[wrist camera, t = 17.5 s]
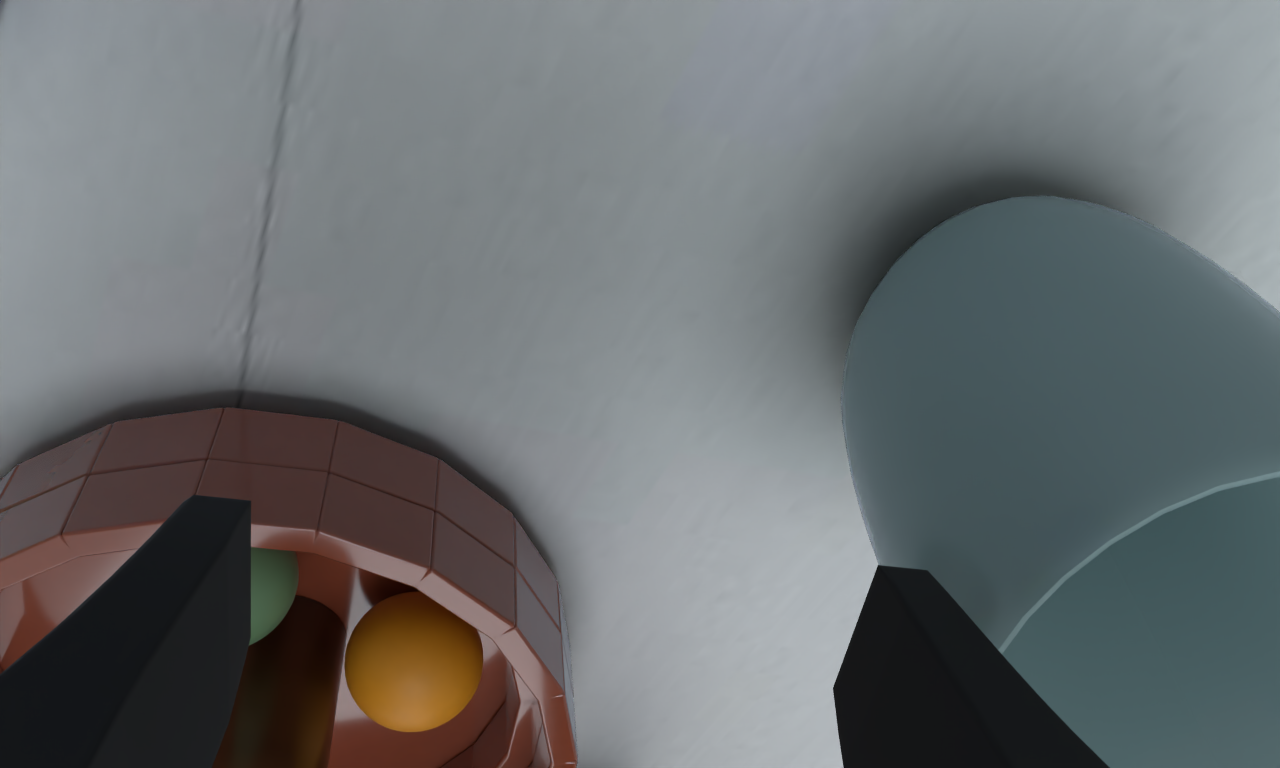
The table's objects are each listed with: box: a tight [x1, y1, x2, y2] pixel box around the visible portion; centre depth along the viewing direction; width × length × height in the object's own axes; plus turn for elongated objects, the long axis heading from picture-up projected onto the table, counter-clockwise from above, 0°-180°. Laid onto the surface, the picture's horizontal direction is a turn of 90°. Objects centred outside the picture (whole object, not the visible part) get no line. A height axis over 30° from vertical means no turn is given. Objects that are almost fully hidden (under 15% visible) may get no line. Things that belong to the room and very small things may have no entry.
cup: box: [841, 196, 1280, 768], centre depth 20 cm, size 8×8×10 cm
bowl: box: [0, 407, 578, 768], centre depth 26 cm, size 14×14×4 cm
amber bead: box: [344, 592, 484, 732], centre depth 25 cm, size 3×3×3 cm
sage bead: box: [249, 547, 299, 645], centre depth 23 cm, size 3×3×3 cm
